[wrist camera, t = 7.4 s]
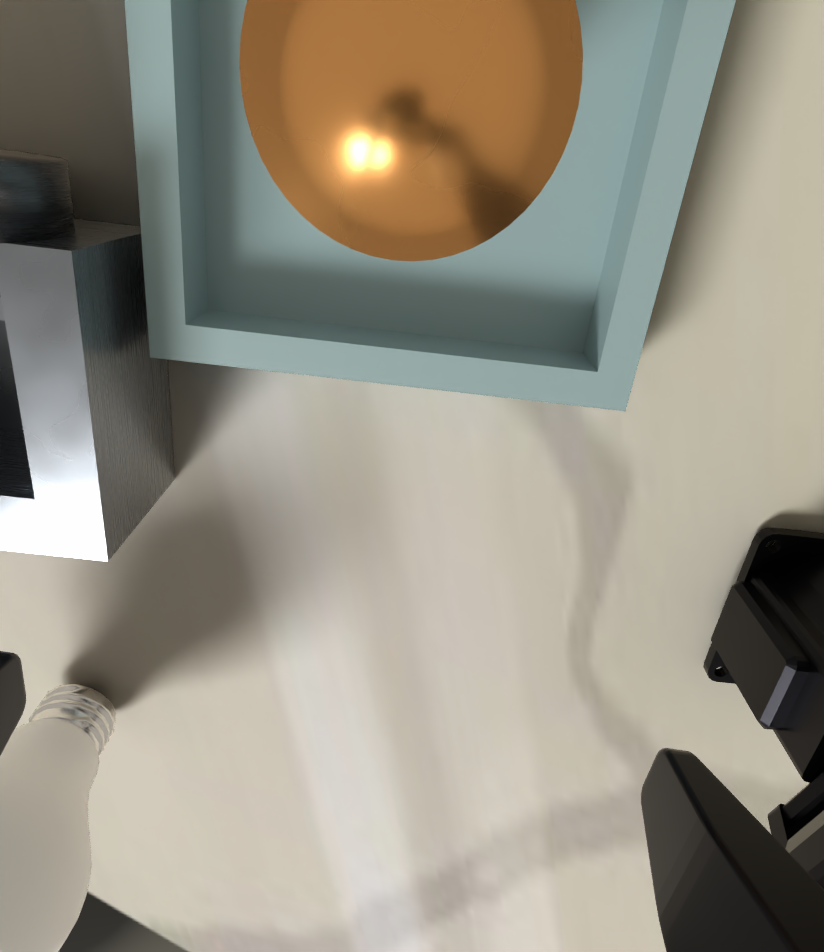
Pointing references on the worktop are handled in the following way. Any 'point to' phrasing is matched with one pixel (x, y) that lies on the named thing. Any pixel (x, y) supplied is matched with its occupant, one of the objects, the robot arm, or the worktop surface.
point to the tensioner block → (74, 373)
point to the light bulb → (49, 817)
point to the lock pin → (411, 114)
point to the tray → (432, 281)
